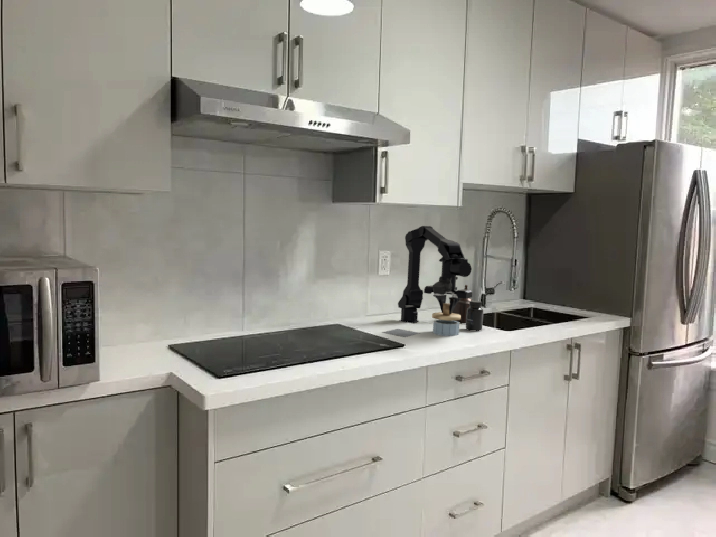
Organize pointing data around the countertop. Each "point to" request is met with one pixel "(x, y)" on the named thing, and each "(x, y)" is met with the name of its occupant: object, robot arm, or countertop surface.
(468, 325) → the supplement bottle
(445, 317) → the lid
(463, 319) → the manual coffee grinder
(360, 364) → the countertop surface
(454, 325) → the bowl
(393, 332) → the mat
